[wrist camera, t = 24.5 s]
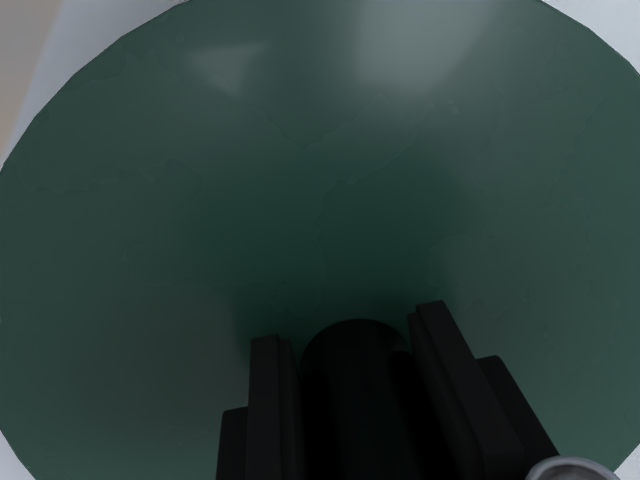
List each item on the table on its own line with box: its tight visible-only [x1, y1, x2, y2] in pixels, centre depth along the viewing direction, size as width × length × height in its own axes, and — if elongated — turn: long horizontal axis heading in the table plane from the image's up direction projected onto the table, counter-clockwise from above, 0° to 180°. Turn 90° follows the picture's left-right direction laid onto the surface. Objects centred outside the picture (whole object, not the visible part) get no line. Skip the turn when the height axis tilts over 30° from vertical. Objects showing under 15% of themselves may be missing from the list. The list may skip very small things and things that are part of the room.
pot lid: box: [0, 0, 640, 480], centre depth 10 cm, size 15×15×7 cm
